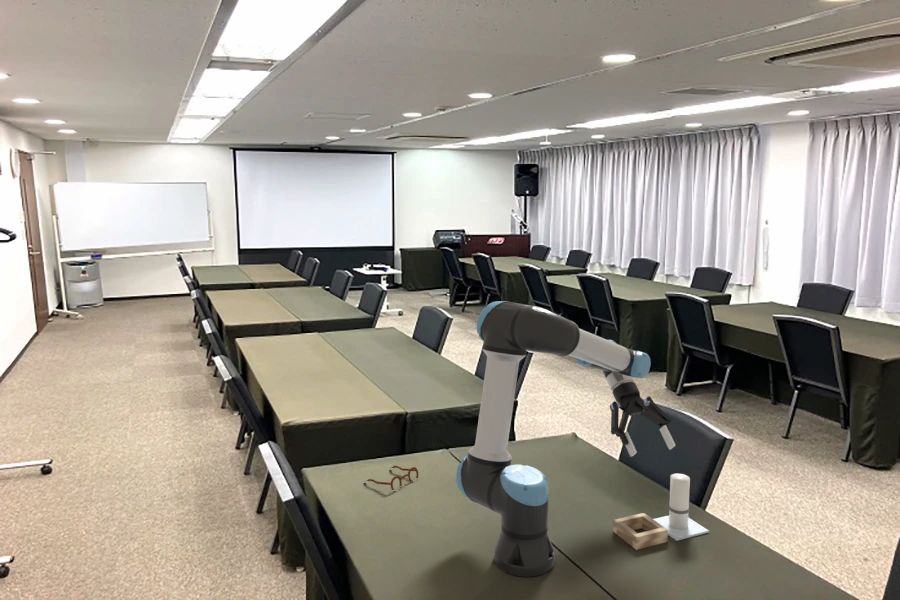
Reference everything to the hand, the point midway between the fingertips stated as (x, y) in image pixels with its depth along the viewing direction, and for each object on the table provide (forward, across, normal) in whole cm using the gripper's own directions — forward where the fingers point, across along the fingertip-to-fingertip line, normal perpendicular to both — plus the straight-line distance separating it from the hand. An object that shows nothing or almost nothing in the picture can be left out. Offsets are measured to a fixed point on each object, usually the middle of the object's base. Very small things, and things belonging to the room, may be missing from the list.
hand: (653, 451), depth 186 cm
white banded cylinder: (+20, -1, -5) cm, 21 cm away
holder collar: (+21, +12, -5) cm, 25 cm away
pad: (+21, -1, -5) cm, 21 cm away
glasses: (-21, +65, -48) cm, 84 cm away
